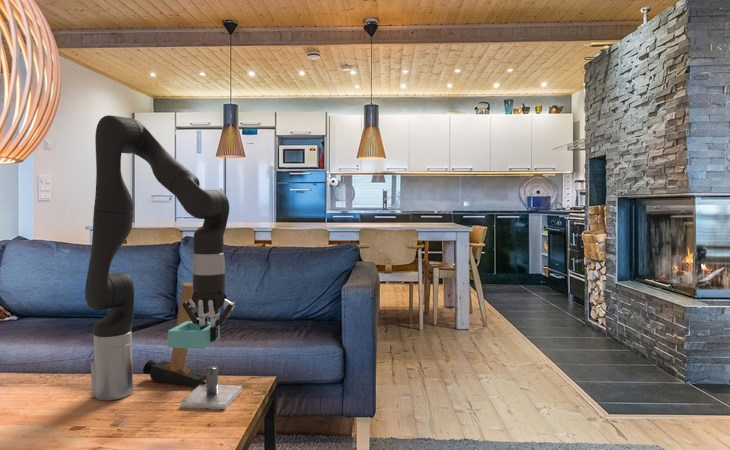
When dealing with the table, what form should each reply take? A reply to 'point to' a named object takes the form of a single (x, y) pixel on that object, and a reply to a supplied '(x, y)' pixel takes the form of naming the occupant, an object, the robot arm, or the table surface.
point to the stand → (211, 393)
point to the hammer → (176, 355)
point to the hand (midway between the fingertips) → (209, 340)
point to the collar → (190, 336)
